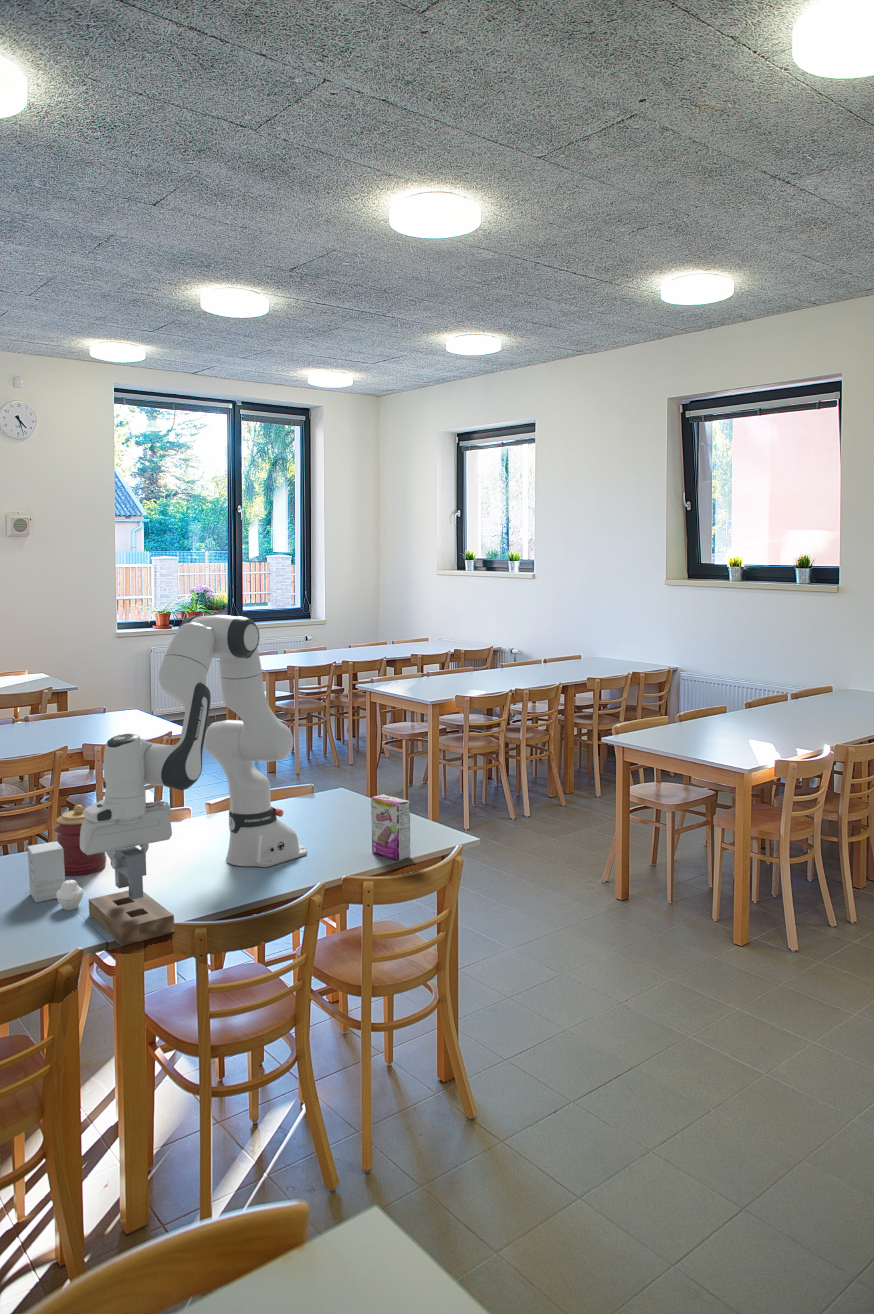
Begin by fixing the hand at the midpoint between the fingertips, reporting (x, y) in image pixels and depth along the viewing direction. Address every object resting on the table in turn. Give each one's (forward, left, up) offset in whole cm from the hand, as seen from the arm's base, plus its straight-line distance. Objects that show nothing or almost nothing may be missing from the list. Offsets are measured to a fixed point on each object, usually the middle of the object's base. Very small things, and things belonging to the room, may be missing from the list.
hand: (128, 865), depth 212 cm
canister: (-3, -47, -14) cm, 49 cm away
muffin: (+8, -19, -14) cm, 25 cm away
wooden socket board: (0, 0, -14) cm, 14 cm away
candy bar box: (-75, -3, -14) cm, 76 cm away
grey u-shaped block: (0, 0, -6) cm, 6 cm away
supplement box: (+10, -31, -14) cm, 36 cm away
